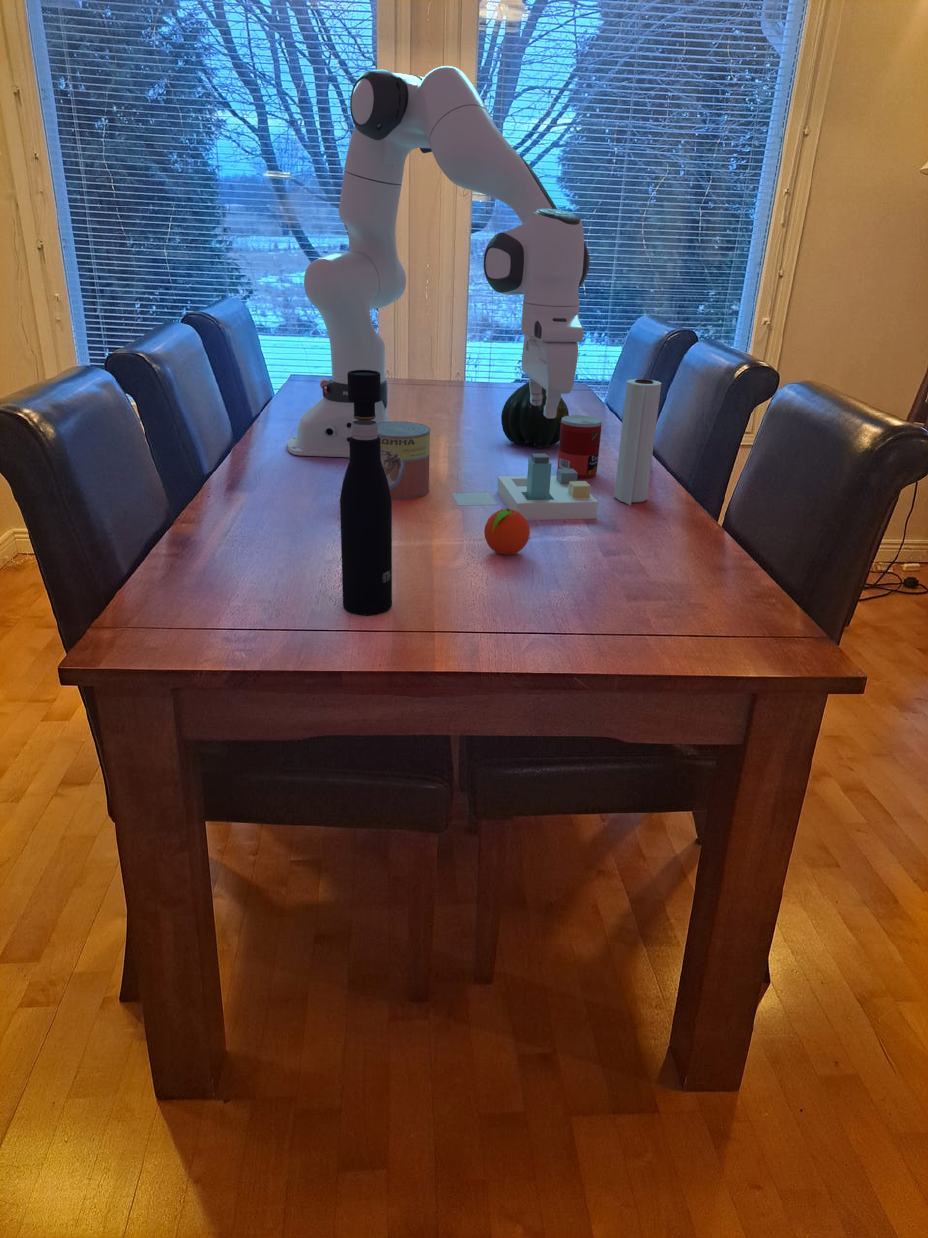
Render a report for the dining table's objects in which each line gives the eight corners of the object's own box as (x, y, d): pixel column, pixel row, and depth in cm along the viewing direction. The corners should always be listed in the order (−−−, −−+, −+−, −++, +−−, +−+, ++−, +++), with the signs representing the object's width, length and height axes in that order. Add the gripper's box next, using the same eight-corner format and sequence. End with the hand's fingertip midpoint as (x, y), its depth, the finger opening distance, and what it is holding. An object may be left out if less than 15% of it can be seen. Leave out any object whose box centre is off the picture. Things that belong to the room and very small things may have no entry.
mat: (458, 508, 154) (458, 505, 154) (451, 496, 160) (452, 493, 160) (497, 507, 155) (497, 504, 155) (489, 495, 162) (489, 492, 161)
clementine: (511, 567, 130) (513, 521, 127) (471, 557, 133) (472, 512, 130) (536, 551, 136) (539, 507, 133) (497, 542, 139) (499, 499, 136)
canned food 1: (356, 498, 158) (355, 431, 153) (383, 482, 168) (383, 418, 163) (414, 506, 155) (415, 438, 150) (438, 489, 164) (439, 425, 159)
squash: (526, 431, 185) (561, 372, 187) (479, 421, 196) (512, 365, 197) (559, 468, 196) (592, 411, 197) (512, 456, 206) (543, 402, 207)
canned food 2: (595, 480, 173) (600, 425, 168) (554, 477, 174) (559, 421, 170) (597, 470, 180) (603, 416, 175) (558, 467, 181) (563, 413, 176)
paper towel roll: (626, 491, 167) (640, 376, 158) (653, 499, 163) (668, 381, 154) (603, 498, 162) (615, 380, 153) (630, 506, 158) (644, 385, 149)
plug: (529, 515, 150) (533, 457, 146) (525, 509, 153) (528, 452, 149) (547, 515, 151) (552, 457, 147) (543, 509, 154) (547, 452, 150)
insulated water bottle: (343, 595, 119) (337, 367, 106) (391, 595, 119) (391, 368, 106) (341, 615, 113) (335, 376, 100) (392, 615, 113) (391, 377, 101)
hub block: (516, 523, 148) (517, 491, 146) (497, 494, 162) (498, 465, 160) (596, 521, 150) (599, 490, 148) (570, 493, 165) (572, 464, 162)
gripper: (515, 314, 147) (510, 397, 153) (545, 331, 129) (538, 425, 135) (552, 314, 148) (545, 397, 154) (587, 332, 130) (578, 425, 136)
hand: (542, 410), depth 145 cm, fingers open, 8 cm apart
